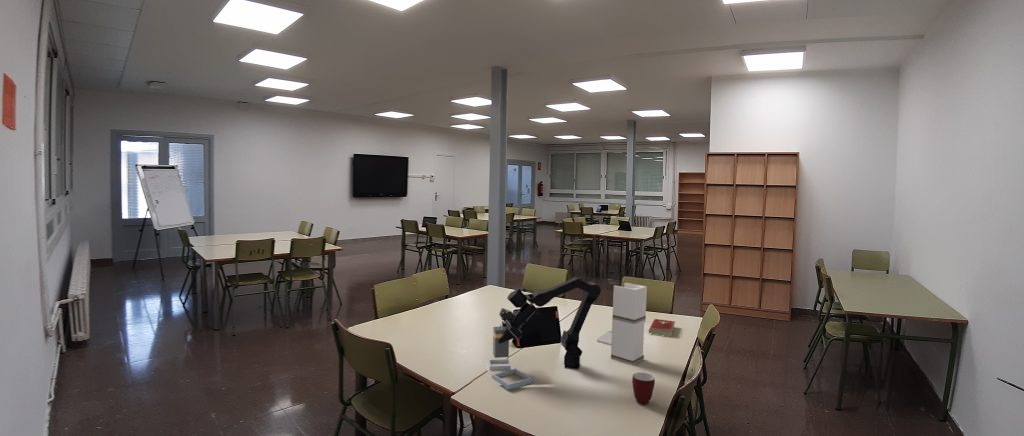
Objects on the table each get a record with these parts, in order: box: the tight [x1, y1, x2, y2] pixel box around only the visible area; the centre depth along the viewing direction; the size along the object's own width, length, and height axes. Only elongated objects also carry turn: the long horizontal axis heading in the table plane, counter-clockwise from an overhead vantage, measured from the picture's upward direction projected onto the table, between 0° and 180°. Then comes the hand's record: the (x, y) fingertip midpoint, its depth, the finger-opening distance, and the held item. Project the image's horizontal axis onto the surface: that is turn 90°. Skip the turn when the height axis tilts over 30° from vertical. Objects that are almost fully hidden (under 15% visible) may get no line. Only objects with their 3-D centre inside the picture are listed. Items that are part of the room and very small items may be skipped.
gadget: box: [596, 330, 612, 346], centre depth 252 cm, size 23×15×4 cm, turn 137°
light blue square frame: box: [491, 368, 533, 392], centre depth 194 cm, size 12×12×2 cm
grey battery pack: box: [492, 323, 510, 359], centre depth 205 cm, size 6×5×13 cm
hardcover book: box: [648, 318, 676, 338], centre depth 271 cm, size 12×21×4 cm, turn 156°
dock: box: [484, 358, 515, 372], centre depth 209 cm, size 12×10×2 cm
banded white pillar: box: [610, 282, 648, 366], centre depth 223 cm, size 11×11×35 cm
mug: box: [631, 372, 656, 405], centre depth 180 cm, size 10×8×10 cm
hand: (497, 340), depth 205 cm, fingers closed on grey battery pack, 5 cm apart
